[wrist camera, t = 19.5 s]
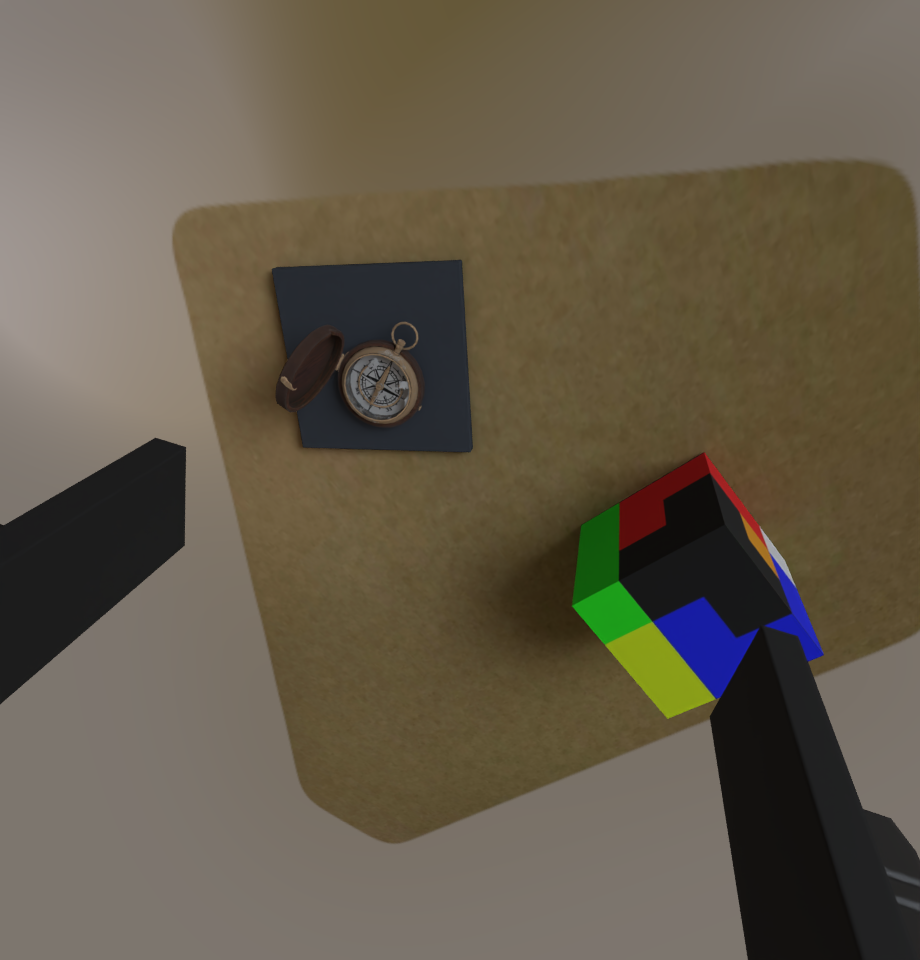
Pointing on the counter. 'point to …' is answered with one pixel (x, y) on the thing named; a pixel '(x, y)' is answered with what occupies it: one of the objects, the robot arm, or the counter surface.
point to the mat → (371, 316)
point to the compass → (355, 376)
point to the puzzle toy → (684, 586)
